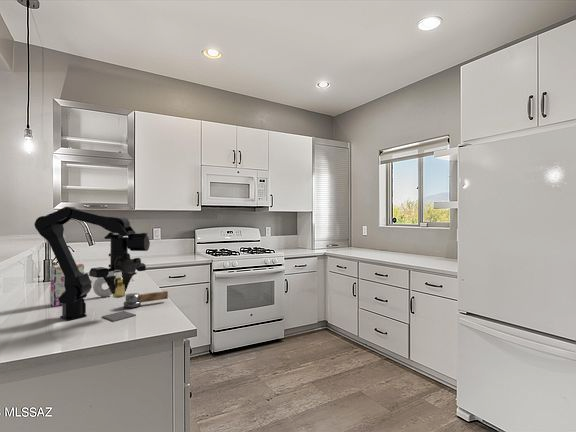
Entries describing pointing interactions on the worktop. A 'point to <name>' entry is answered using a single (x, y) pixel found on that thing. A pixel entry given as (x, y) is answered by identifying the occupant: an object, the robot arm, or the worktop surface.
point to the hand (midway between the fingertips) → (118, 292)
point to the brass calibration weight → (119, 288)
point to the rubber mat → (118, 316)
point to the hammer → (143, 298)
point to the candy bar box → (58, 283)
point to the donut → (99, 290)
